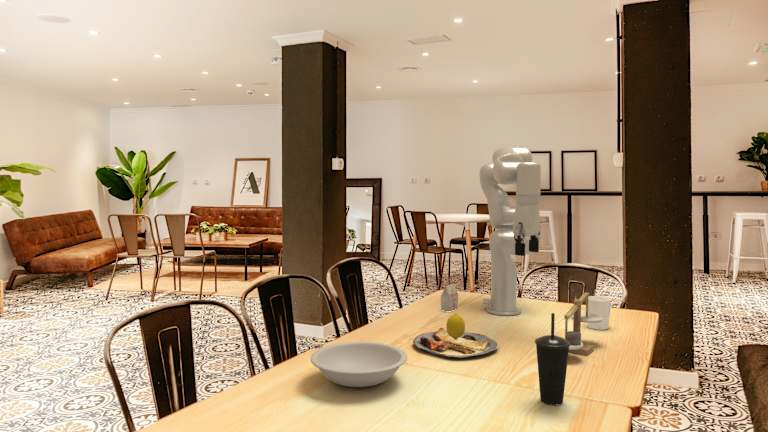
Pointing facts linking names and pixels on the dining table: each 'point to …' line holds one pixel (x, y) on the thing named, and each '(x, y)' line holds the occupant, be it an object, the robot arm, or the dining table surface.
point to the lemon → (455, 326)
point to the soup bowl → (358, 362)
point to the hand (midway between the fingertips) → (526, 253)
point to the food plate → (455, 343)
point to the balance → (579, 326)
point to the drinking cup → (552, 366)
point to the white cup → (599, 311)
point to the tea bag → (449, 298)
